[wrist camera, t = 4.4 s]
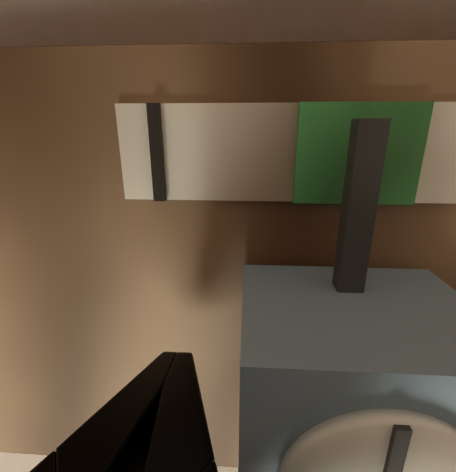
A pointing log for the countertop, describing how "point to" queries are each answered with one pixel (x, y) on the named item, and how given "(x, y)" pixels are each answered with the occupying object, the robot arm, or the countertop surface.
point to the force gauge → (348, 350)
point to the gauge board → (193, 205)
